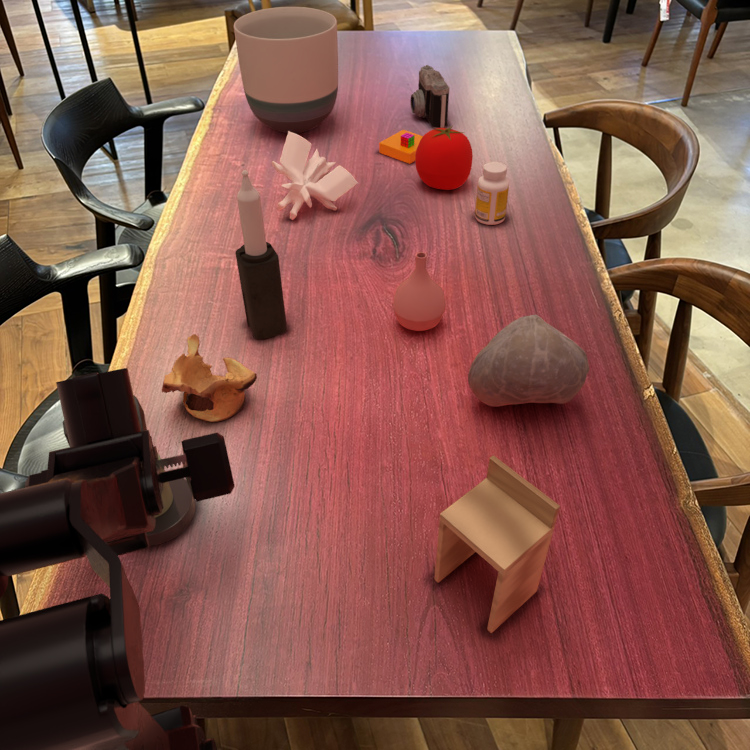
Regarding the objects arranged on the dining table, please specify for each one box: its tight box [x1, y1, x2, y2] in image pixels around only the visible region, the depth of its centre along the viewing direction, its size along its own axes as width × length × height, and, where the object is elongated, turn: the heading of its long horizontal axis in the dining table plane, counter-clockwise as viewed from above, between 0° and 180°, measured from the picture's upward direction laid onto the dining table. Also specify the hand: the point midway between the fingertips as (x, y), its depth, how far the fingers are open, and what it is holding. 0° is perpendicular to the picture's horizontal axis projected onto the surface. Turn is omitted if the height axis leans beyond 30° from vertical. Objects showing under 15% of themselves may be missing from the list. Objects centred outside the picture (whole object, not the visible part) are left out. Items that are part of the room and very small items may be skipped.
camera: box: [410, 64, 450, 129], centre depth 157 cm, size 15×7×10 cm, turn 12°
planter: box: [233, 6, 339, 134], centre depth 149 cm, size 20×20×21 cm
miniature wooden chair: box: [433, 455, 561, 634], centre depth 69 cm, size 7×8×14 cm
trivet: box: [146, 478, 196, 547], centre depth 81 cm, size 9×9×2 cm
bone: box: [161, 333, 258, 424], centre depth 92 cm, size 12×10×8 cm
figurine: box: [271, 131, 359, 221], centre depth 130 cm, size 15×12×14 cm
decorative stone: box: [467, 314, 590, 408], centre depth 88 cm, size 15×10×15 cm
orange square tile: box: [378, 129, 424, 165], centre depth 146 cm, size 8×8×4 cm
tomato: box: [414, 125, 474, 191], centre depth 133 cm, size 10×11×11 cm
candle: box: [235, 169, 288, 341], centre depth 97 cm, size 5×5×25 cm
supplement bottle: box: [474, 161, 510, 226], centre depth 124 cm, size 5×5×10 cm
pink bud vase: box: [391, 251, 447, 332], centre depth 102 cm, size 8×8×12 cm
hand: (143, 477), depth 78 cm, fingers open, 9 cm apart
